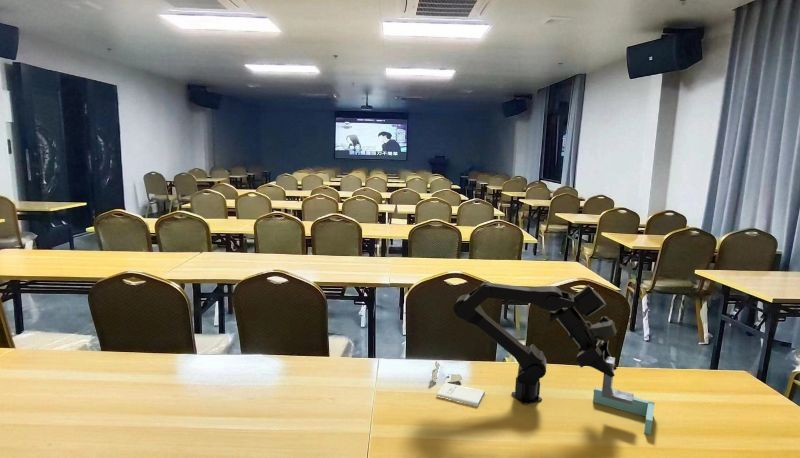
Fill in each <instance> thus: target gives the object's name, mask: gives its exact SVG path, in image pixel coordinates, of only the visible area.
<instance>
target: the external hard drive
mask: <svg viewBox="0 0 800 458" xmlns="http://www.w3.org/2000/svg"><path fill="white" fill-rule="evenodd" d="M485 394H486V391H485V390H481V389H478V388H477V389H476V388H472V387H467V386H464V385H459V384H455V383H454V384H453V383H451V382H450V383H444V382H443V385H442V386H441V388H440V389H439V390H438V391H437V394H436V397H437V396H440V397H444V398H448V399H451V400H455V401H459V402H462V403H466V404H469V405H468V406H471V405H473V406H472V407H475V406H477V407H476V408H479V406H480V404H481V402H482V401H483V399H482V398H484V396H485ZM481 400H482V401H481ZM462 403H461V404H462ZM466 404H465V405H466Z"/></svg>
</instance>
